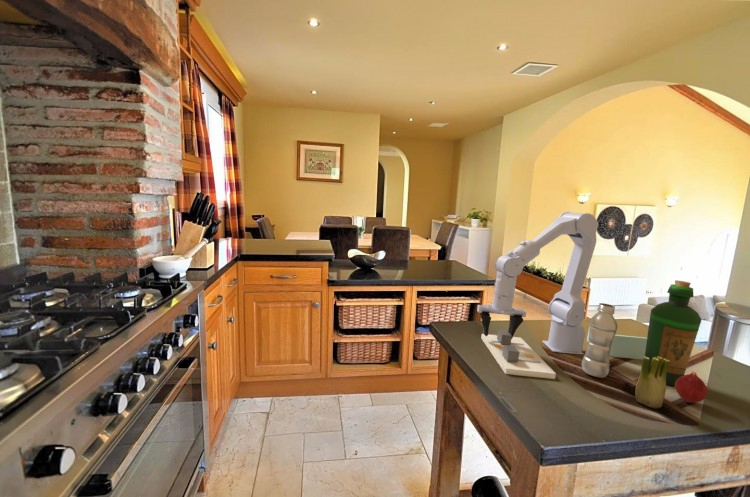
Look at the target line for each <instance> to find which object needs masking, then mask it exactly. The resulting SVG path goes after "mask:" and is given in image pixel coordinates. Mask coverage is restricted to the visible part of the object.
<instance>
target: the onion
mask: <svg viewBox="0 0 750 497" xmlns="http://www.w3.org/2000/svg"><path fill="white" fill-rule="evenodd" d="M697 374H698V373H697V372H696V371H694V370H693V371H691V372H690V373H688V374H684V376H681V377H679V378H678V379H677V380H676V382H675V385H674V388H675V391H676V393H677V394H678V396H679V397H680V398H681V399H682V400H683V401H684V402H685V403H689V404H690V403H698V402H702V401H704V399H705V398H706V397H707V395H708V387H707V386H706V383H705V381H703V380H702V379H701V378H700V377H699V376H698V375H697Z"/></svg>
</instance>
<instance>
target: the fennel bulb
mask: <svg viewBox="0 0 750 497" xmlns="http://www.w3.org/2000/svg"><path fill="white" fill-rule="evenodd" d="M649 362H650V359H649V358H648V357H643V359H642V363H641V369H640V373H639V377H638V379H637V383H636V386H635V394H634V396H635V400H636V402H637V403H639V404H641V405H643V406H646V407H648V408H650V409H657V410H658V409H660V408H662V407H663V403H664V399H665V396H666V390H667V384H666V374H667V370H668V367H669V364H670V360H667V359H663V358H662V357H658V356H657V358H655V357H654V358H652V361H651V364H650V367H649Z"/></svg>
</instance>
